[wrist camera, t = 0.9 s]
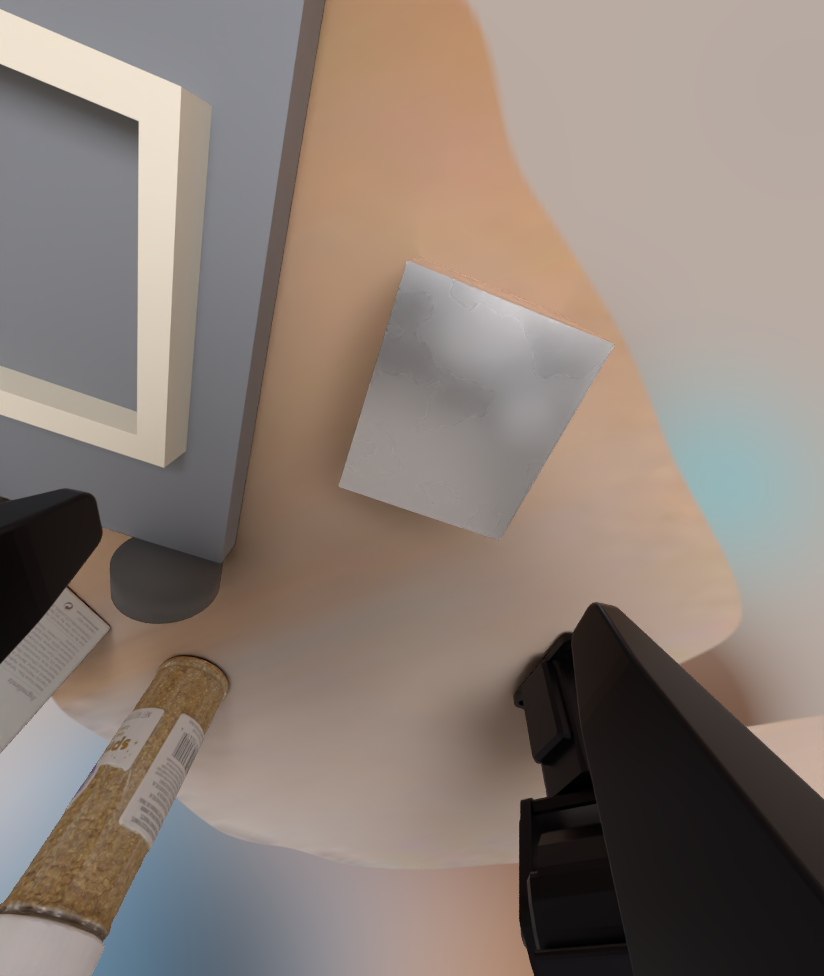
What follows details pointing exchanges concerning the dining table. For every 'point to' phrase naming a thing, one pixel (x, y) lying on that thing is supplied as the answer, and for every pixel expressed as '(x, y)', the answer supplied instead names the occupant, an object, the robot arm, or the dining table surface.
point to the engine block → (467, 399)
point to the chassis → (145, 264)
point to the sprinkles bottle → (108, 828)
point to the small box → (45, 661)
